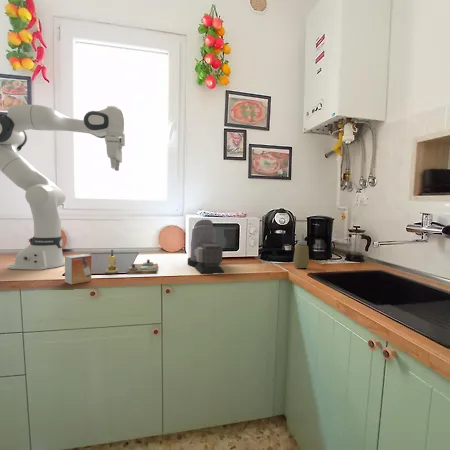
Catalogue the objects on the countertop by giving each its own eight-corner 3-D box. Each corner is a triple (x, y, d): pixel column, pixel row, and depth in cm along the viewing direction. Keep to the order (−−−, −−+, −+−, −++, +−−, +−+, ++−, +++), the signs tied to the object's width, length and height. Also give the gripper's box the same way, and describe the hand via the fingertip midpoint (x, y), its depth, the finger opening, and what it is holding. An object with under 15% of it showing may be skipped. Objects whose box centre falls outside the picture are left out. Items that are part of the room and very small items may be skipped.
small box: (71, 285, 108) (71, 258, 107) (64, 282, 111) (64, 255, 110) (91, 281, 114) (91, 255, 113) (85, 278, 118) (84, 253, 117)
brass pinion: (104, 273, 126) (104, 251, 125) (106, 270, 131) (106, 249, 131) (117, 273, 127) (117, 251, 126) (119, 270, 133) (119, 249, 132)
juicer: (184, 261, 158) (185, 217, 156) (212, 260, 163) (213, 218, 161) (196, 274, 129) (197, 221, 127) (229, 273, 134) (231, 221, 132)
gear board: (126, 274, 126) (126, 265, 126) (131, 266, 141) (131, 258, 141) (156, 273, 129) (156, 265, 129) (157, 266, 144) (157, 258, 143)
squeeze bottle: (311, 268, 149) (313, 234, 148) (304, 270, 144) (306, 235, 142) (297, 265, 155) (299, 233, 154) (290, 267, 149) (291, 234, 148)
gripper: (112, 144, 148) (112, 171, 149) (104, 136, 128) (104, 166, 129) (125, 145, 150) (124, 172, 151) (118, 137, 130) (118, 167, 131)
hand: (115, 169), depth 140 cm, fingers open, 8 cm apart
